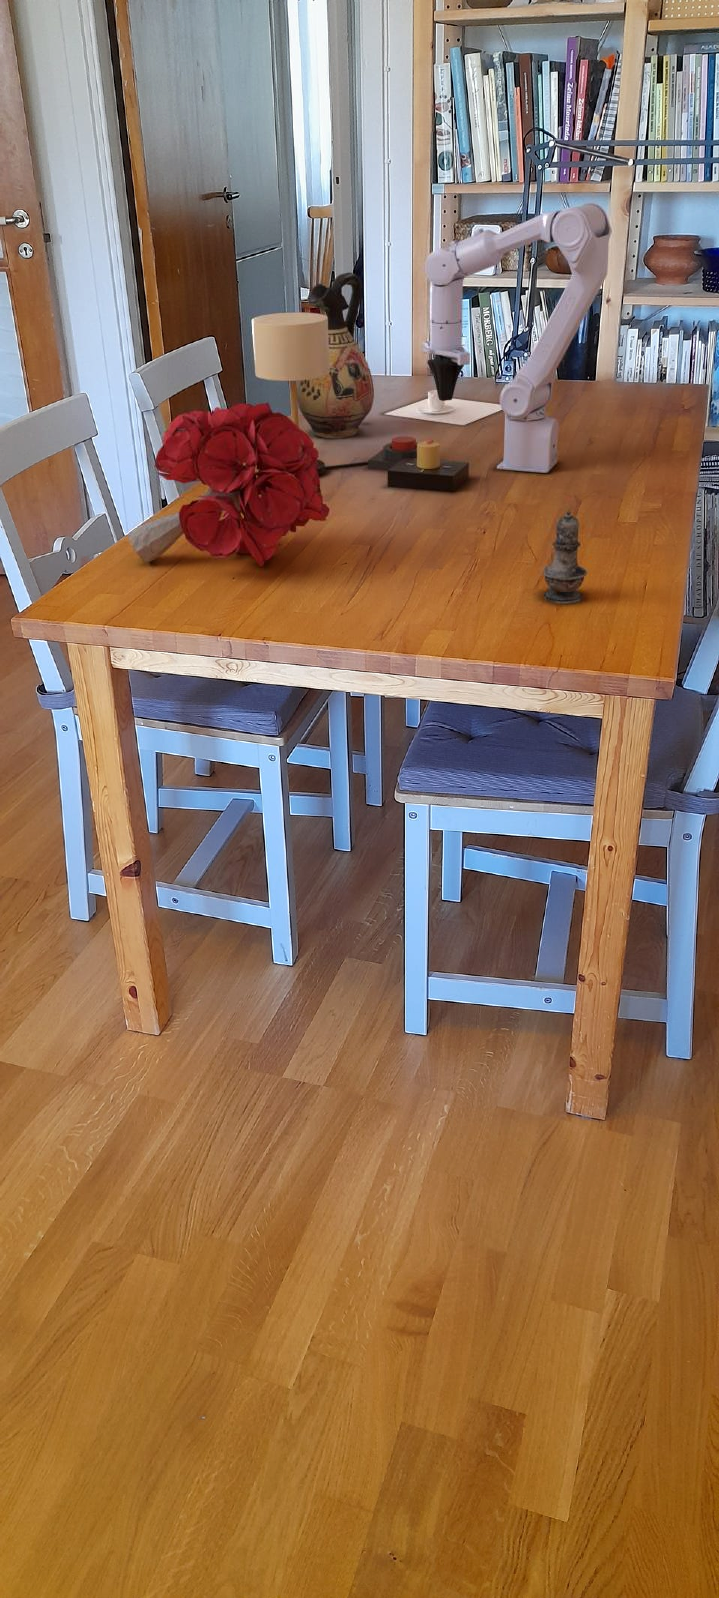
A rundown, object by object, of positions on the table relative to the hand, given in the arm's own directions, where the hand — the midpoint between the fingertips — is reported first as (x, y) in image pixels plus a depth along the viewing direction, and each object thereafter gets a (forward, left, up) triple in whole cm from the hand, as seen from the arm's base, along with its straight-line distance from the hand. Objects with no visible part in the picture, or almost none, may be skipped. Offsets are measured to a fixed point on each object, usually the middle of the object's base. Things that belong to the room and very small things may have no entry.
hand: (445, 399), depth 220 cm
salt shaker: (-38, +64, -11) cm, 76 cm away
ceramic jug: (+26, -12, -11) cm, 30 cm away
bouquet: (+12, +64, -11) cm, 67 cm away
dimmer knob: (-3, +18, -7) cm, 20 cm away
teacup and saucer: (+11, -37, -11) cm, 40 cm away
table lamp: (+20, +17, -10) cm, 28 cm away
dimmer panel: (-3, +18, -10) cm, 21 cm away
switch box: (+5, +8, -10) cm, 14 cm away
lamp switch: (+5, +9, -7) cm, 12 cm away
